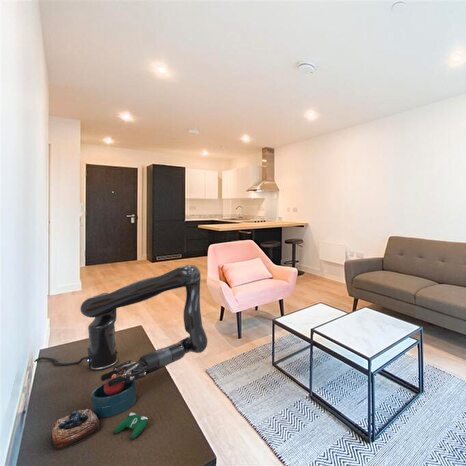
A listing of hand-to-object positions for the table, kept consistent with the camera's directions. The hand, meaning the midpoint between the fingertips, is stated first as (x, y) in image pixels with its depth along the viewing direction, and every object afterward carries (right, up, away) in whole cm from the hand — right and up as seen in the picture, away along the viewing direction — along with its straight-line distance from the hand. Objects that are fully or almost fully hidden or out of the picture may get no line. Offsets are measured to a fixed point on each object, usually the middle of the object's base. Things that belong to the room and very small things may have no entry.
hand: (105, 381), depth 104 cm
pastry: (-1, -12, -10) cm, 15 cm away
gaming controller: (+17, -12, -9) cm, 22 cm away
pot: (+1, -11, +3) cm, 11 cm away
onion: (+1, -7, +3) cm, 8 cm away
